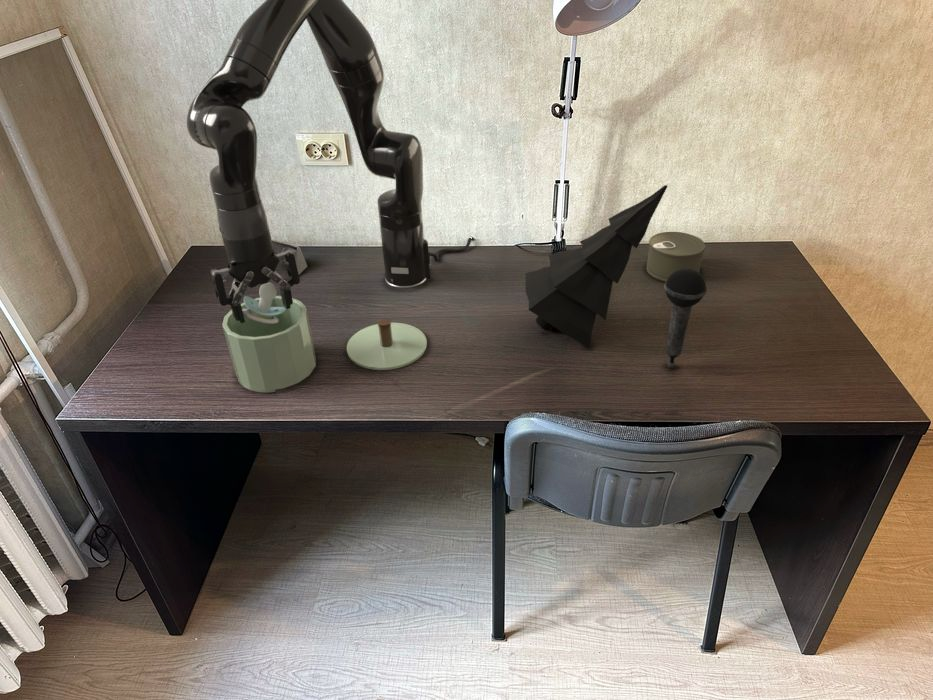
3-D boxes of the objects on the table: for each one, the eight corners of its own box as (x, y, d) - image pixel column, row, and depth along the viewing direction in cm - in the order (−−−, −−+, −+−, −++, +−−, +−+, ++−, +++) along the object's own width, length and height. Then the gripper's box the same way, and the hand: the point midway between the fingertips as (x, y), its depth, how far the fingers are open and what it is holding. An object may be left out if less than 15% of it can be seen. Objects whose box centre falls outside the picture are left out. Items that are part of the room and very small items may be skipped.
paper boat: (321, 263, 157) (292, 269, 150) (310, 281, 161) (281, 288, 154) (292, 226, 160) (261, 230, 152) (281, 245, 163) (251, 250, 156)
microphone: (683, 383, 118) (703, 284, 107) (645, 372, 121) (661, 274, 110) (694, 363, 123) (715, 266, 112) (658, 353, 126) (674, 257, 115)
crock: (299, 338, 133) (289, 288, 127) (328, 374, 123) (318, 321, 117) (227, 362, 127) (213, 311, 121) (251, 402, 117) (236, 348, 111)
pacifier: (277, 330, 117) (284, 317, 122) (285, 298, 114) (292, 286, 120) (235, 317, 115) (244, 304, 121) (243, 284, 113) (252, 273, 118)
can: (710, 279, 149) (716, 251, 145) (660, 286, 147) (664, 258, 143) (683, 255, 158) (688, 228, 154) (636, 262, 156) (640, 235, 152)
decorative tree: (576, 363, 130) (709, 225, 113) (514, 326, 125) (643, 177, 108) (568, 322, 142) (687, 192, 125) (511, 287, 137) (627, 147, 120)
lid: (403, 319, 138) (401, 293, 135) (441, 354, 128) (440, 327, 124) (334, 343, 132) (330, 316, 128) (368, 382, 121) (364, 354, 117)
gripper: (206, 248, 103) (230, 336, 113) (294, 225, 110) (310, 310, 119) (194, 231, 109) (218, 316, 118) (279, 210, 115) (295, 293, 124)
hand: (264, 313), depth 118 cm, fingers closed on pacifier, 8 cm apart
